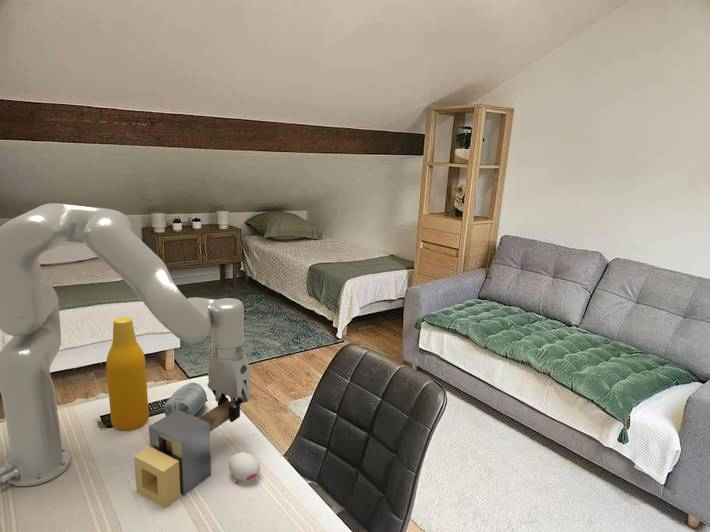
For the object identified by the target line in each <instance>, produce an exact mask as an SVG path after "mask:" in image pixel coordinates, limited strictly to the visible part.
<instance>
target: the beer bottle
mask: <svg viewBox="0 0 710 532" xmlns="http://www.w3.org/2000/svg"><path fill="white" fill-rule="evenodd" d="M112 327H113V329H112V344H111V346H110V348H109V351H108V353H107V356H106V362H105V363H106V364H105V367H106V375H107V376H106V377H107V386H108V388H107V389H108V400H109V410H110V411H109V412H110V422H111V425H112V427H113V428H114V429H115V430H118V431H125V432H127V431H132V430H136V429H139V428H141V427H143V426H144V425H145V424H146V423H147V422H148V420H149V417H150V412H149V411H150V410H149V401H148V400H149V398H148V385H147V382H148V381H147V371H146V370H147V369H146V368H147V367H146V357H145V353H144V350H143V349H142V347H141V346H140V344H139V343H138V341H137V339H136V333H135V329H134V328H135V327H134V323H133V319H132V318H131V317H129V316H128V317H127V316H122V317H118V318H117V317H116V318H115V319H114V320H113V326H112Z"/></svg>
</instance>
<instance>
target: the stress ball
mask: <svg viewBox="0 0 710 532" xmlns="http://www.w3.org/2000/svg"><path fill="white" fill-rule="evenodd" d="M260 464H261V463H260V461H259V460H258V459H257V458H256V457H255V456H254V455H253V454H251V453H248V452H238V453H236V454H234V455H232V457H231V458H230V459H229V463H228V467H229V471H230V472H231V474H232V475H233V476H234V477H235V478H237V480H236V481H234V484H237V485H239V480H241V481H244V482H245V481H251V480H254V479H256V478H257V477H258V476H259V474H260V471H261V466H260Z"/></svg>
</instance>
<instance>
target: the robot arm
mask: <svg viewBox="0 0 710 532" xmlns="http://www.w3.org/2000/svg"><path fill="white" fill-rule="evenodd" d="M65 242H66V243H76V244H77V243H78V244H85V246H87V248H88V249H89V250H90V251H91V252H92V253H93V254H94V255H95V256H97V258H98V259H100V260H101V261H102V262H104V264H106V265H107V266H108V267H109V268H110V269H111V270H112V271H113V272H114V273H116V274H117V275H118V276H119V277H120V278H121V279H122V280H123V281H124V282H125V283H127V285H129V286H130V287H131V288H132V289H133V291H134V292H135V294H136V296H137V297H138V298H139V299H140V301H142V302H143V305H145V306H146V309H148V310H149V311H150V313H151V314H152V315H153V316H154V318H156V320H157V321H158V322H159V323H160V324H162V326H164V328H166V329H167V330H168V331H169V332H171V334H172V335H174V336H175V337H176V338H177V339H179V340H181V341H183V342H184V343H188V344H197V343H200V342H203V341H204V340H206V338H207V337H208V336H209V335H211V353H210V356H209V362H208V373H207V374H208V377H207V378H208V379H207V380H208V383H207V388H208V389H209V390H210V391H211V392H212V393H213V395H214V398H215V402H216V403H217V406H218V405H220V404H222V403H223V402H225V401H227V400H228V401H231V407H230V408H229V417H230V419H229V420H228V421H229V422H230V423H233V422H234V421H236V420H237V419H240V417H241V405H242V404H244V403H248V402H249V401H251V399H252V397H251V394H250V391H251V382H252V381H251V371H250V365H249V360H248V359H249V358H248V356H247V350H245V314H244V313H245V306H244V304H243V302H242V301H241V300H240V299H237V298H232V297H226V298H225V297H224V298H219V299H215V298H214V299H212V298H206V297H186V296H185V295H184V294H183V293H182V291H181V290H180V289H179V288H178V286H177V285H176V283H175V282H174V280H173V278H172V276H171V273H170V272H169V269H168V268H167V266H166V264H165V262H164V261H163V260H162V259H161V258H160V257H159V256H158V255H157V254H156V253H155V252H154V251H153V250H152V249H151V248H150V247H149V246H148V245H146V243H145V242H143V241H142V239H140V238H139V236H138V235H137V234H135V233H134V232H133V231H132V223H131V221H130V219H129V218H128V217H127V216H126V215H125V214H124V213H122V212H121V211H119V210H115V209H111V208H106V207H105V208H104V207H95V206H83V205H76V204H66V203H57V202H54V203H53V202H52V203H46V204H42V205H39V206H37V207H35V208H33V209H31V210H29V211H27V212H25V213H23V214H19V216H15V217H14V218H12V219H10V220H9V221H7V222H5V223H3V224H2V225H1V226H0V331H2V332H3V333H4V334H6V335H8V336H10V337H11V336H12V338H11V339H10V340H9V341H8V342H7V343H6V344H5V345H4V346H3V348H2V349H0V395H1V400H2V405H3V412H4V416H5V417H4V418H5V423H6V428H7V429H6V430H7V436H8V442H9V443H8V444H9V449H10V450H9V451H10V456H8V457H6V463H5V464H3V465H2V467H0V482H2V484H3V483H5V482H7V483H8V484H10V485H13V486H15V487H30V486H31V487H32V486H37V485H41V484H44V483H46V482H49V481H51V480H53V479H55V478H57V477H59V476H60V475H61V474H62V473H64V472H65V471H66V470H67V469H68V468H69V466H70V465H71V463H72V455H71V453H70V451H69V450H68V449H67V448H64V447H63V446H62V437H61V428H60V420H59V414H58V413H59V411H58V404H57V403H58V401H57V395H56V389H55V385H54V381H53V379H52V375H51V365H52V364H53V362H54V360H55V358H56V357H57V355H58V353H59V351H60V348H61V345H62V344H61V343H62V331H61V329H62V328H61V316H60V305H59V297H58V294H57V292H56V290H55V289H54V287H53V286H52V285H51V284H49V283H48V282H47V281H45V280H42V279H43V278H42V277H43V273H42V268H41V267H42V266H41V263H40V257H41V256H42V255H43V254H44V253H46V252H49V251H52V250H54V249H56V248H57V247H59V246H61V244H63V243H65ZM228 396H229V397H230V400H229V397H228Z"/></svg>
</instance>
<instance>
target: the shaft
mask: <svg viewBox="0 0 710 532" xmlns="http://www.w3.org/2000/svg"><path fill="white" fill-rule="evenodd" d="M228 400H229V399H228ZM228 400H227V401H225V402H223V403H222V404H220V405H218V404H217V405H216V406H215V407H214V408H212V409H211V410H209V411H207V412H206V413H204V414H203V415H201V416H200V417H198V418H199V419H201V420H204V421H206V422H208V423H210V433H211V432H212V431H214V430H215V429H217V428H218V427H220V426H221V425H223V424H224V423H226V422H227V421H230V420H229V419H230V417H229V408H230V407H231V400H229V401H228ZM166 450H167V451H169V452H171V453H173V452H172V442H169V441H167V440H166Z"/></svg>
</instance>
